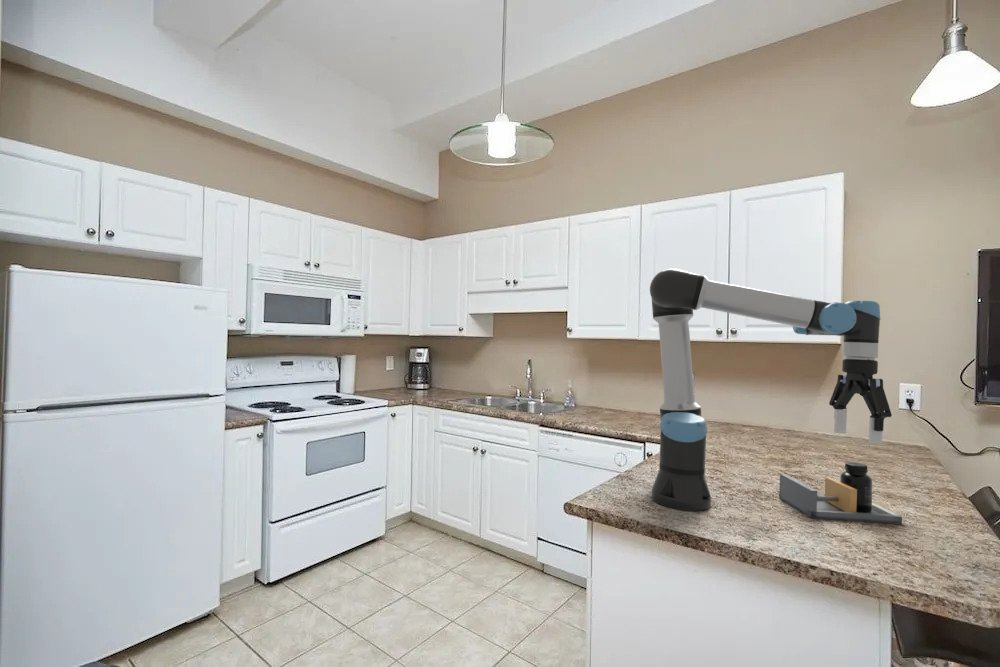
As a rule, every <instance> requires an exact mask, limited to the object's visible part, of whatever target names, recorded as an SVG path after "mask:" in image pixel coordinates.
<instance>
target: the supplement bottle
mask: <svg viewBox="0 0 1000 667" xmlns="http://www.w3.org/2000/svg"><path fill="white" fill-rule="evenodd" d="M844 470H845V471H844V472H842V473H841V474H840V475H839V476H840V477H839V478H840V481H839V482H842V483H844V484H846V485H848V486H850V487H852V488H855V489H857V506H856V512H860V513H869V512H871V511H872V503H873V479H872V477H871V476H869V475H868V473H869V471H868V465H867V464H864V463H860V462H854V461H853V462H852V461H846V462H845V463H844Z"/></svg>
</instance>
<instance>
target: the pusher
mask: <svg viewBox="0 0 1000 667" xmlns="http://www.w3.org/2000/svg"><path fill="white" fill-rule="evenodd" d="M824 495H825V496H817V500H822V501H827V502H829V503H831V504H832V505H834V506H836V507H838V508H840V509H841V510H843V511H845V512H856V506H857V489H855V488H852V487H850V486H848V485H846V484H844V483H842V482H840V481H839V480H838V479H835V478H833V477H829V476H828V477H827V476H825V477H824Z"/></svg>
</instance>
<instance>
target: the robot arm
mask: <svg viewBox="0 0 1000 667" xmlns="http://www.w3.org/2000/svg"><path fill="white" fill-rule="evenodd" d="M649 294H650V298H651V307H652V310H651V311H652V319H653V320H654V321H655V322H656V323H657V324H658V335H659V344H660V346H659V347H660V359H661V360H660V361H661V371H662V374H661V375H662V387H663V400H664V402H663V403H662V404H661V405H660V406H659V412H660V413H659V414H660V415H659V416H660V417H659V418H660V424H659V429H660V439H659V465H658V472H657V475H656V477H655V480H654V482H653V485H652V488H651V498H652V500H653V501H654V502H656V503H657V504H659V505H662V506H664V507H668V508H671V509H676V510H682V511H689V512H690V511H692V512H693V511H694V512H695V511H696V512H698V511H706V510H708V509H710V508H711V506H712V496H711V494H710V493H711V492H710V489H709V486H708V483H707V480H706V452H707V449H706V447H707V435H708V434H707V433H708V428H707V422H706V419H705V418H704V417H702V408H701V405H699V404H698V402H696V401H695V400H696V399H695V388H694V374H693V362H692V348H691V347H692V346H691V335H690V334H691V333H690V320H692V318H693V317H694V315H695V314H694V311H697V310H700V309H701V308H703V309H706V310H707V309H708V310H712V311H717V312H721V313H725V314H731V315H736V316H737V315H738V316H742V317H747V318H752V319H757V320H762V321H766V322H771V323H777V324H782V325H787V326H791V327H792V330H793V332H794V333H795V334H797V335H806V336H837V337H840V336H841V337H842V336H843V339H842V340H843V341H842V342H843V343H842V344H843V345H842V357H844V358H843V359H842V364H841V365H842V366H841V367H842V372H843V373H846V374H837V382H836V385H835V387H834V390H833V391H832V395H831V398H830V399H829V402H828V403H829V406H832V407H833V409H834V416H833V418H834V423H833V424H834V427H833V433H838V434H846V433H847V420H848V419H847V418H848V416H847V415H848V414H847V413H848V410H847V406H848V405H849V402H850V401H851V400H852V399H853V397H854V396H855V394H859V396H860V397H862V398H863V400H864V402H865V404H866V406H867V408H868V411H869V412H870V414H871V415H870V416H869V422H868V423H869V424H868V426H869V427H868V443H869V444H873V445H874V444H875V445H876V444H877V445H882V444H883V431H884V422H885V419H886V418H892V416H893V415H892V410H891V408H890V405H889V402H888V398H887V396H886V392H885V389H884V381H883V379H882V378H873V376H874V375H877V374H878V371H879V370H878V368H879V367H878V366H879V362H878V361H877V360H876V359H878V358H879V341H880V340H879V338H880V325H881V324H880V323H881V308H880V307H881V306H880V304H879V303H878V302H877V301H874V300H849V301H847V302H845V303H844V302H843V303H842V302H826V301H821V300H814V299H812V298H811V299H810V298H805V297H801V296H800V297H799V296H795V295H790V294H789V295H788V294H783V293H779V292H774V291H773V292H772V291H768V290H762V289H757V288H752V287H746V286H742V285H736V284H730V283H725V282H720V281H714V280H709V278H708V277H707V276H706V275H702V274H699V273H693V272H690V271H686V270H682V269H679V268H678V269H677V268H666V269H663V270H662V271H660V272H657V273H656V274H655V275H654V277H653V278H652V280H651V282H650V285H649Z"/></svg>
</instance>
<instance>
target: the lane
mask: <svg viewBox="0 0 1000 667" xmlns="http://www.w3.org/2000/svg"><path fill="white" fill-rule="evenodd" d="M778 494H779V495H778V498H779V499H780V500H781V501H783V502H784V503H785V504H787V505H789V506H790V507H792V508H794V509H795V510H797V511H799V512H800V513H801V514H803V515H805V516H806V517H808V518H809V519H817V520H818V519H819V520H831V521H833V520H834V521H835V520H836V521H848V522H849V521H850V522H865V523H866V522H867V523H868V522H869V523H879V524H881V523H882V524H896V525H897V524H899V525H902V524H903V516H902V515H899V514H897V513H895V512H893V511H891V510H889V509H887V508H885V507H883V506H880V505H878V504H876V503H874V502H872V511H871V512H869V513H860V512H845V511H843V510H841V509H840V508H838V507H836V506H834V505H832V504H831V503H829V502H827V501H822V500H817V496H825V494H819V493H818V490H816V489H814V488H813V487H811V486H809V485H807V484H805V483H803V482H801V481H800V480H798V479H795V478H794V477H792V476H791V475H788V474H786V473H779V492H778Z"/></svg>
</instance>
